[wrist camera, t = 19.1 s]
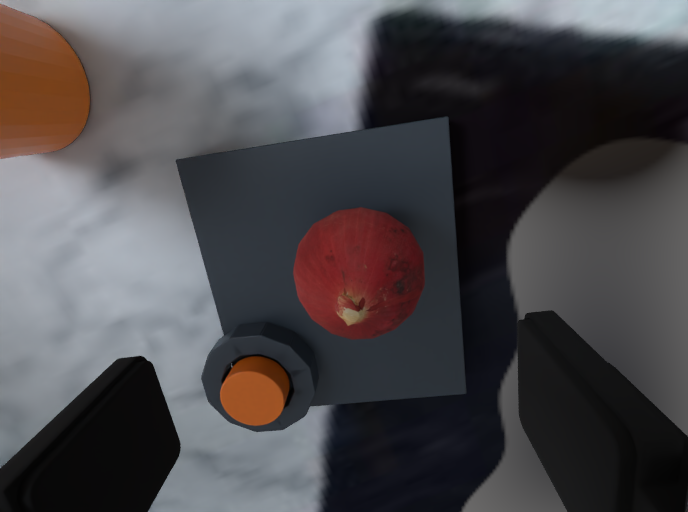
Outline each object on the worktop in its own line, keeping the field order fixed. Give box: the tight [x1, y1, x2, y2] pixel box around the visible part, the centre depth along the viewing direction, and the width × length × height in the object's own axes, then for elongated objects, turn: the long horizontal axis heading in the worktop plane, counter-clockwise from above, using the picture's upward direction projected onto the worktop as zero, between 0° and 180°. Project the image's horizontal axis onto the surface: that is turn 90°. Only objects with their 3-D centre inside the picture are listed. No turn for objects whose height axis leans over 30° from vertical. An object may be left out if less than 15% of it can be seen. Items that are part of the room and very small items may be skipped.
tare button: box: [220, 356, 290, 426], centre depth 22 cm, size 4×4×2 cm
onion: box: [293, 207, 425, 340], centre depth 17 cm, size 6×6×8 cm
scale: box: [176, 117, 466, 432], centre depth 22 cm, size 15×16×4 cm
